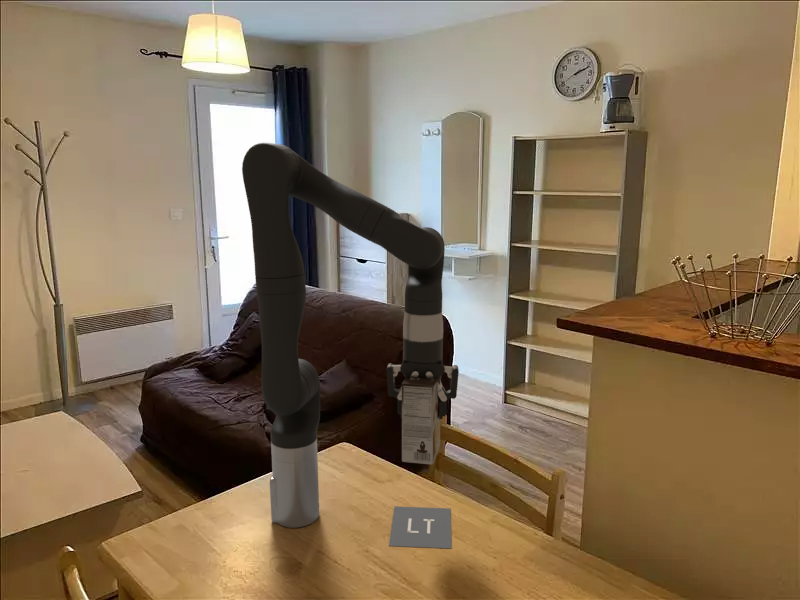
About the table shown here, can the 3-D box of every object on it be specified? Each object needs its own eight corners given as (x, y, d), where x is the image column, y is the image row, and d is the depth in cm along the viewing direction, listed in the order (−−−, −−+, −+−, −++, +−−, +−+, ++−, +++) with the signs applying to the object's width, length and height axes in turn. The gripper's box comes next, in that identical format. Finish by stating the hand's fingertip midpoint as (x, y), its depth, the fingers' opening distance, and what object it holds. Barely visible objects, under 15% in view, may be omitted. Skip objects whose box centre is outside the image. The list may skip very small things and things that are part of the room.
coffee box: (409, 441, 126) (410, 367, 122) (440, 444, 125) (442, 369, 121) (400, 462, 117) (401, 382, 114) (434, 465, 116) (435, 385, 112)
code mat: (388, 547, 118) (388, 545, 118) (394, 507, 132) (394, 506, 131) (451, 549, 117) (451, 548, 117) (450, 509, 131) (450, 508, 131)
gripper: (383, 339, 113) (383, 423, 116) (461, 341, 112) (459, 426, 115) (386, 328, 120) (386, 408, 123) (460, 330, 119) (458, 410, 122)
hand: (421, 416), depth 119 cm, fingers closed on coffee box, 7 cm apart
